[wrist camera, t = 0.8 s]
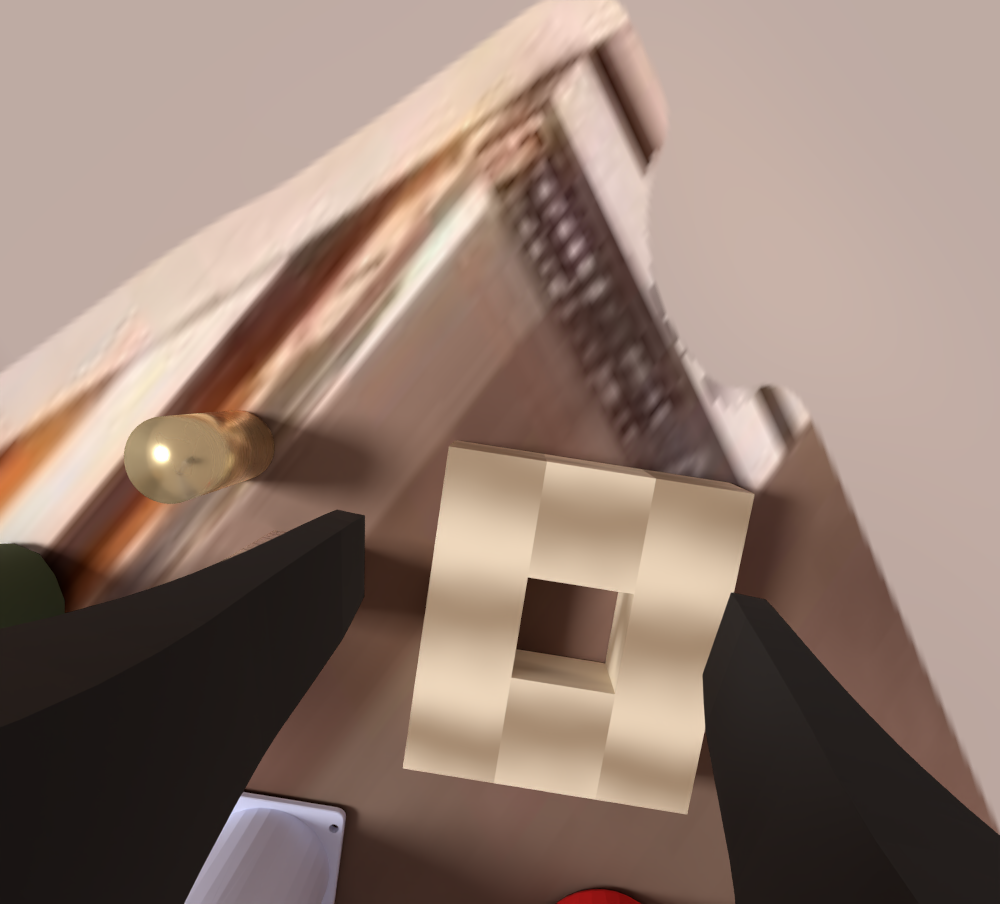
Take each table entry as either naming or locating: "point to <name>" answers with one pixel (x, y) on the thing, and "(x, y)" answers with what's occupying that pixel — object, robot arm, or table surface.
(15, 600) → the character mug
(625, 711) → the socket plate
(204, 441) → the round bit
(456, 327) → the table surface
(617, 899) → the soda can
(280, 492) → the table surface
